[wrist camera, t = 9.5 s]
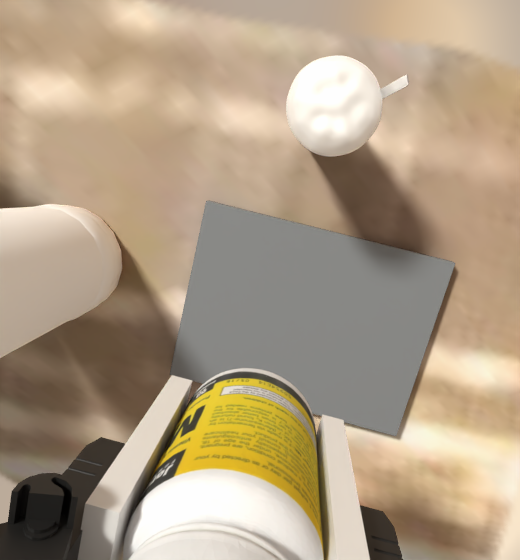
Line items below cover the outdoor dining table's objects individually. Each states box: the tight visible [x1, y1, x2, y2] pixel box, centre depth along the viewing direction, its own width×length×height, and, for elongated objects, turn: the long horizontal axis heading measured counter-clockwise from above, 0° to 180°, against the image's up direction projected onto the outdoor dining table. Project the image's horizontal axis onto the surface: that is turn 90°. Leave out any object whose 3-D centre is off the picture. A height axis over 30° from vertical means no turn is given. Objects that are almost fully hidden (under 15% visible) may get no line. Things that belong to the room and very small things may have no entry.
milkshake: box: [286, 56, 409, 157], centre depth 24 cm, size 4×5×10 cm
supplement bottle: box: [123, 368, 324, 560], centre depth 12 cm, size 5×5×8 cm
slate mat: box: [170, 201, 455, 436], centre depth 31 cm, size 17×13×1 cm
